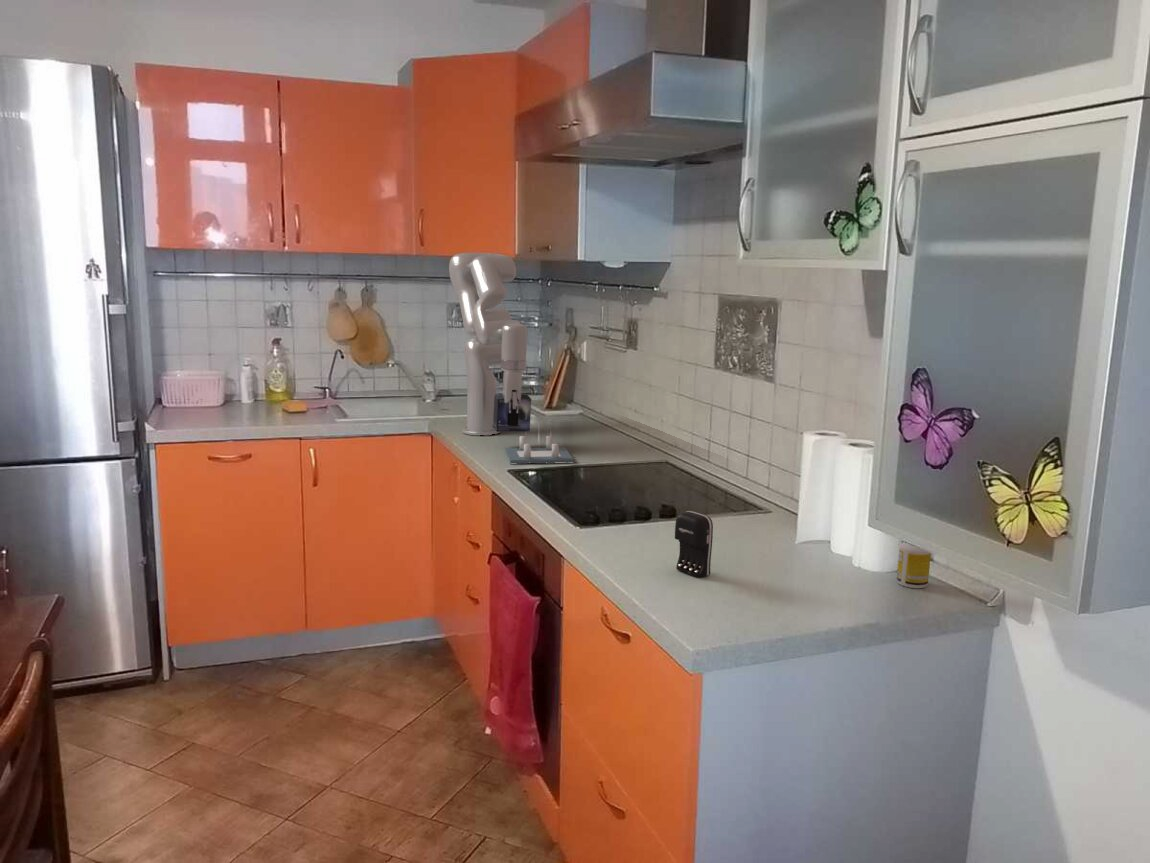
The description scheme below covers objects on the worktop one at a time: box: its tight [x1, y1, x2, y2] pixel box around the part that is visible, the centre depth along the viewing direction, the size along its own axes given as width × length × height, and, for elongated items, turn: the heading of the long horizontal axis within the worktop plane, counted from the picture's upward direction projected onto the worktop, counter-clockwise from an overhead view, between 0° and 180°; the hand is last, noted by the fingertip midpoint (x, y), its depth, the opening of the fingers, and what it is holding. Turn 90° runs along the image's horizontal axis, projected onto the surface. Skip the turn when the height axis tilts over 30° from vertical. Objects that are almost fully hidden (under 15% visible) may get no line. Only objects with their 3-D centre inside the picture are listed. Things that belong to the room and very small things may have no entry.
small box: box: [493, 393, 532, 433], centre depth 276 cm, size 11×6×10 cm, turn 105°
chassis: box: [504, 435, 574, 464], centre depth 264 cm, size 16×18×5 cm
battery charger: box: [674, 510, 714, 578], centre depth 168 cm, size 7×4×11 cm, turn 40°
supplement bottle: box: [896, 541, 932, 590], centre depth 165 cm, size 5×5×10 cm
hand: (511, 422), depth 277 cm, fingers closed on small box, 6 cm apart
